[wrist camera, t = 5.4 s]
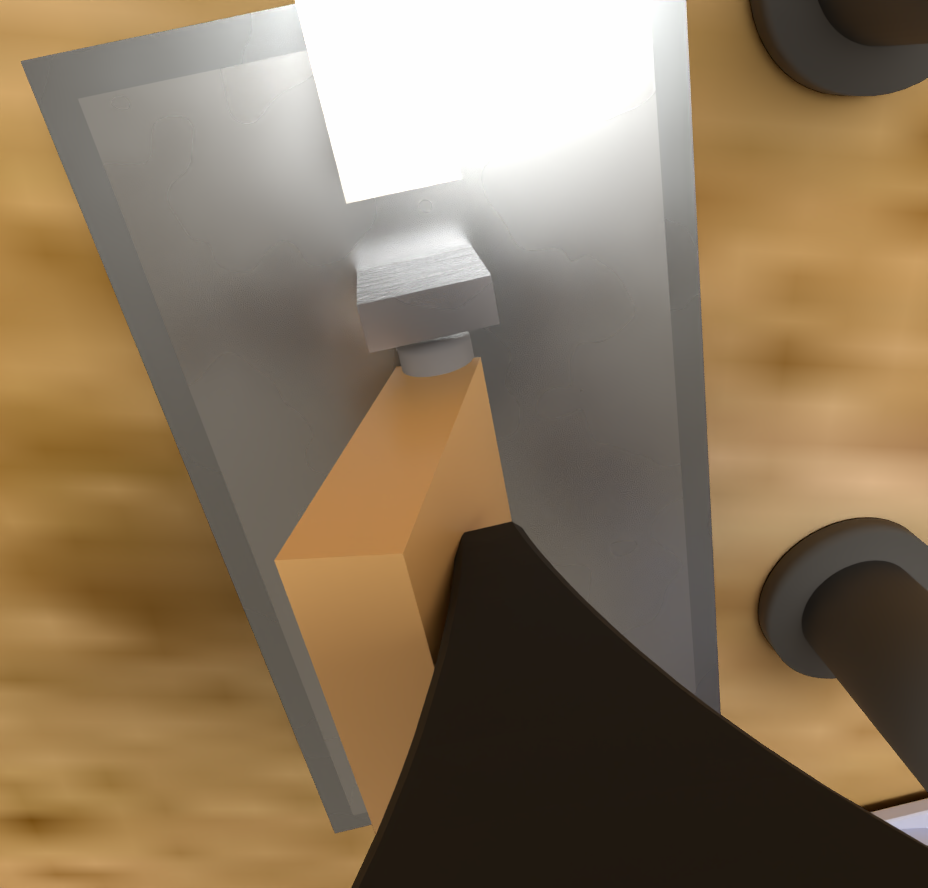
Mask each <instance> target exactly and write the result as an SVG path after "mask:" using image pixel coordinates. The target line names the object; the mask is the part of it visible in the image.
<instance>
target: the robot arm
mask: <svg viewBox="0 0 928 888" xmlns="http://www.w3.org/2000/svg"><path fill="white" fill-rule="evenodd" d="M352 888H928V798H926V799H922V800H918V801H914V802H910V803H906V804H902V805H897V806H893V807H889V808H885V809H881V810H877V811H873V812H869V811H867V810H865V809H864V808H862V807H860V806H859V805H857V804H855V803H854V802H852V801H850V800H848V799H847V798H845V797H843V796H842V795H840V794H838V793H837V792H835V791H833V790H831V789H830V788H828V787H827V786H825V785H823V784H822V783H820V782H819V781H817V780H816V779H814V778H813V777H811V776H810V775H808V774H807V773H805V772H804V771H802V770H801V769H799V768H798V767H796V766H794V765H793V764H791V763H790V762H788V761H787V760H785V759H784V758H782V757H781V756H779V755H778V754H776V753H775V752H773V751H772V750H770V749H769V748H767V747H766V746H764V745H763V744H761V743H760V742H759V741H757V740H756V739H754V738H753V737H751V736H750V735H749V734H747V733H746V732H744V731H743V730H742V729H740V728H739V727H737V726H736V725H735V724H733V723H732V722H730V721H729V720H728V719H726V718H725V717H723V716H722V715H720V714H719V713H718V712H716V711H715V710H714V709H712V708H711V707H710V706H708V705H707V704H706V703H704V702H703V701H702V700H701V699H699V698H698V697H697V696H695V695H694V694H693V693H691V692H690V691H689V690H688V689H686V688H685V687H684V686H683V685H681V684H680V683H679V682H677V681H676V680H675V679H674V678H673V677H671V676H670V675H669V674H668V673H667V672H665V671H664V670H663V669H662V668H661V667H659V666H658V665H657V664H656V663H655V662H653V661H652V660H651V659H650V658H648V657H647V656H646V655H645V654H644V653H642V652H641V651H640V650H639V649H638V648H637V647H636V646H634V645H633V644H632V643H631V642H630V641H629V640H628V639H627V638H625V637H624V636H623V635H622V634H621V633H620V632H619V631H618V630H617V629H616V628H614V627H613V626H612V625H611V624H610V623H609V622H608V621H607V620H606V619H605V618H604V617H603V616H602V615H601V614H600V613H599V612H598V611H597V610H595V609H594V608H593V607H592V606H591V605H590V604H589V603H588V602H587V601H586V600H585V599H584V598H583V597H582V596H581V595H580V594H579V593H578V592H577V591H576V590H575V589H574V588H573V587H572V586H571V585H570V584H569V583H568V582H567V581H566V580H565V579H564V577H563V576H562V575H561V574H560V573H559V572H558V571H557V570H556V569H555V568H554V567H553V566H552V564H551V563H550V562H549V561H548V560H547V559H546V558H545V556H544V555H543V554H542V553H541V552H540V550H539V549H538V548H537V547H536V546H535V544H534V543H533V542H532V540H531V539H530V538H529V537H528V535H527V534H526V532H525V531H524V529H523V528H522V527H520V526H519V525H517V524H515V523H514V522H512V521H511V522H507V523H503V524H498V525H494V526H490V527H485V528H481V529H477V530H472V531H468V532H464V534H463V535H462V537H461V540H460V543H459V546H458V549H457V552H456V555H455V559H454V570H453V580H452V588H451V594H450V600H449V606H448V612H447V617H446V621H445V626H444V630H443V635H442V639H441V643H440V648H439V652H438V657H437V661H436V665H435V669H434V672H433V676H432V679H431V682H430V686H429V689H428V692H427V695H426V699H425V702H424V705H423V708H422V712H421V715H420V718H419V721H418V725H417V728H416V731H415V734H414V737H413V740H412V743H411V746H410V749H409V751H408V754H407V757H406V760H405V763H404V765H403V768H402V771H401V773H400V776H399V779H398V781H397V784H396V786H395V789H394V792H393V794H392V796H391V799H390V801H389V804H388V806H387V809H386V811H385V814H384V816H383V818H382V821H381V823H380V826H379V828H378V831H377V833H376V835H375V838H374V840H373V842H372V844H371V846H370V849H369V851H368V853H367V855H366V857H365V859H364V862H363V864H362V866H361V868H360V870H359V873H358V875H357V877H356V879H355V881H354V883H353V886H352Z"/></svg>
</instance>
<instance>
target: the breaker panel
mask: <svg viewBox="0 0 928 888" xmlns="http://www.w3.org/2000/svg"><path fill="white" fill-rule="evenodd" d="M295 2H296V4H292V5H287V6H282V7H277V8H273V9H268V10H263V11H258V12H253V13H249V14H244V15H239V16H234V17H230V18H225V19H220V20H215V21H210V22H206V23H201V24H196V25H191V26H187V27H182V28H177V29H172V30H168V31H163V32H158V33H153V34H148V35H144V36H139V37H134V38H129V39H125V40H120V41H115V42H110V43H106V44H101V45H96V46H91V47H86V48H82V49H77V50H72V51H67V52H63V53H58V54H53V55H48V56H43V57H39V58H34V59H29V60H24V61H21V64H22V66H23V68H24V71H25V73H26V76H27V78H28V81H29V83H30V86H31V88H32V91H33V93H34V95H35V98H36V100H37V103H38V105H39V108H40V110H41V113H42V115H43V118H44V120H45V122H46V125H47V127H48V130H49V132H50V135H51V137H52V140H53V142H54V145H55V147H56V149H57V152H58V154H59V157H60V159H61V162H62V164H63V167H64V169H65V172H66V174H67V176H68V179H69V181H70V184H71V186H72V189H73V191H74V194H75V196H76V199H77V201H78V203H79V206H80V208H81V211H82V213H83V216H84V218H85V221H86V223H87V226H88V228H89V230H90V233H91V235H92V238H93V240H94V243H95V245H96V248H97V250H98V253H99V255H100V257H101V260H102V262H103V265H104V267H105V270H106V272H107V275H108V277H109V280H110V282H111V284H112V287H113V289H114V292H115V294H116V297H117V299H118V302H119V304H120V307H121V309H122V311H123V314H124V316H125V319H126V321H127V324H128V326H129V329H130V331H131V334H132V336H133V339H134V341H135V343H136V346H137V348H138V351H139V353H140V356H141V358H142V361H143V363H144V366H145V368H146V370H147V373H148V375H149V378H150V380H151V383H152V385H153V388H154V390H155V393H156V395H157V397H158V400H159V402H160V405H161V407H162V410H163V412H164V415H165V417H166V420H167V422H168V424H169V427H170V429H171V432H172V434H173V437H174V439H175V442H176V444H177V447H178V449H179V451H180V454H181V456H182V459H183V461H184V464H185V466H186V469H187V471H188V474H189V476H190V478H191V481H192V483H193V486H194V488H195V491H196V493H197V496H198V498H199V501H200V503H201V505H202V508H203V510H204V513H205V515H206V518H207V520H208V523H209V525H210V528H211V530H212V532H213V535H214V537H215V540H216V542H217V545H218V547H219V550H220V552H221V555H222V557H223V559H224V562H225V564H226V567H227V569H228V572H229V574H230V577H231V579H232V582H233V584H234V586H235V589H236V591H237V594H238V596H239V599H240V601H241V604H242V606H243V609H244V611H245V613H246V616H247V618H248V621H249V623H250V626H251V628H252V631H253V633H254V636H255V638H256V640H257V643H258V645H259V648H260V650H261V653H262V655H263V658H264V660H265V663H266V665H267V667H268V670H269V672H270V675H271V677H272V680H273V682H274V685H275V687H276V690H277V692H278V694H279V697H280V699H281V702H282V704H283V707H284V709H285V712H286V714H287V717H288V719H289V721H290V724H291V726H292V729H293V731H294V734H295V736H296V739H297V741H298V744H299V746H300V748H301V751H302V753H303V756H304V758H305V761H306V763H307V766H308V768H309V771H310V773H311V775H312V778H313V780H314V783H315V785H316V788H317V790H318V793H319V795H320V798H321V800H322V803H323V805H324V807H325V810H326V812H327V815H328V817H329V820H330V822H331V825H332V827H333V830H334V832H335V833H339V832H343V831H347V830H351V829H355V828H359V827H363V826H368V825H372V823H371V820H370V818H369V815H368V812H367V810H366V807H365V804H364V801H363V799H362V796H361V793H360V791H359V788H358V785H357V783H356V780H355V777H354V774H353V772H352V769H351V766H350V764H349V761H348V758H347V756H346V753H345V750H344V747H343V745H342V742H341V739H340V737H339V734H338V731H337V729H336V726H335V723H334V720H333V718H332V715H331V712H330V710H329V707H328V704H327V702H326V699H325V696H324V693H323V691H322V688H321V685H320V683H319V680H318V677H317V675H316V672H315V669H314V666H313V664H312V661H311V658H310V656H309V653H308V650H307V648H306V645H305V642H304V639H303V637H302V634H301V631H300V629H299V626H298V623H297V621H296V618H295V615H294V612H293V610H292V607H291V604H290V602H289V599H288V596H287V594H286V591H285V588H284V585H283V583H282V580H281V577H280V575H279V572H278V569H277V567H276V564H275V561H274V560H275V558H276V557H277V555H278V554H279V552H280V550H281V549H282V547H283V546H284V544H285V543H286V541H287V539H288V538H289V536H290V535H291V533H292V531H293V530H294V528H295V527H296V525H297V523H298V522H299V520H300V519H301V517H302V516H303V514H304V512H305V511H306V509H307V508H308V506H309V504H310V503H311V501H312V500H313V498H314V497H315V495H316V493H317V492H318V490H319V489H320V487H321V485H322V484H323V482H324V481H325V479H326V477H327V476H328V474H329V473H330V471H331V470H332V468H333V466H334V465H335V463H336V462H337V460H338V458H339V457H340V455H341V454H342V452H343V450H344V449H345V447H346V446H347V444H348V443H349V441H350V439H351V438H352V436H353V435H354V433H355V431H356V430H357V428H358V427H359V425H360V424H361V422H362V420H363V419H364V417H365V416H366V414H367V412H368V411H369V409H370V408H371V406H372V404H373V403H374V401H375V400H376V398H377V397H378V395H379V393H380V392H381V390H382V389H383V387H384V385H385V384H386V382H387V381H388V379H389V378H390V376H391V374H392V373H393V371H394V370H395V368H396V367H398V366H401V363H400V359H399V355H398V350H397V347H399V346H404V345H408V344H413V343H417V342H422V341H426V340H431V339H435V338H440V337H444V336H449V335H453V334H458V333H462V332H466V331H468V332H469V333H470V338H471V343H472V348H473V353H474V358H476V357H481V362H482V367H483V372H484V377H485V383H486V388H487V393H488V398H489V404H490V409H491V414H492V419H493V425H494V430H495V435H496V440H497V446H498V451H499V456H500V461H501V467H502V472H503V477H504V482H505V488H506V493H507V498H508V503H509V509H510V514H511V519H512V522H514V523H515V524H517V525H519V526H520V527H522V528H523V529H524V531H525V532H526V534H527V535H528V537H529V538H530V539H531V540H532V542H533V543H534V544H535V546H536V547H537V548H538V549H539V550H540V552H541V553H542V554H543V555H544V556H545V558H546V559H547V560H548V561H549V562H550V563H551V564H552V566H553V567H554V568H555V569H556V570H557V571H558V572H559V573H560V574H561V575H562V576H563V577H564V579H565V580H566V581H567V582H568V583H569V584H570V585H571V586H572V587H573V588H574V589H575V590H576V591H577V592H578V593H579V594H580V595H581V596H582V597H583V598H584V599H585V600H586V601H587V602H588V603H589V604H590V605H591V606H592V607H593V608H594V609H595V610H597V611H598V612H599V613H600V614H601V615H602V616H603V617H604V618H605V619H606V620H607V621H608V622H609V623H610V624H611V625H612V626H613V627H614V628H616V629H617V630H618V631H619V632H620V633H621V634H622V635H623V636H624V637H625V638H627V639H628V640H629V641H630V642H631V643H632V644H633V645H634V646H636V647H637V648H638V649H639V650H640V651H641V652H642V653H644V654H645V655H646V656H647V657H648V658H650V659H651V660H652V661H653V662H655V663H656V664H657V665H658V666H659V667H661V668H662V669H663V670H664V671H665V672H667V673H668V674H669V675H670V676H671V677H673V678H674V679H675V680H676V681H677V682H679V683H680V684H681V685H683V686H684V687H685V688H686V689H688V690H689V691H690V692H691V693H693V694H694V695H695V696H697V697H698V698H699V699H701V700H702V701H703V702H704V703H706V704H707V705H708V706H710V707H711V708H712V709H714V710H715V711H716V712H718V713H719V714H720V715H721V712H720V692H719V671H718V650H717V630H716V609H715V588H714V568H713V547H712V526H711V505H710V485H709V464H708V443H707V423H706V402H705V381H704V360H703V340H702V319H701V298H700V278H699V257H698V236H697V215H696V195H695V174H694V153H693V133H692V112H691V91H690V70H689V50H688V29H687V8H686V0H295Z"/></svg>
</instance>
